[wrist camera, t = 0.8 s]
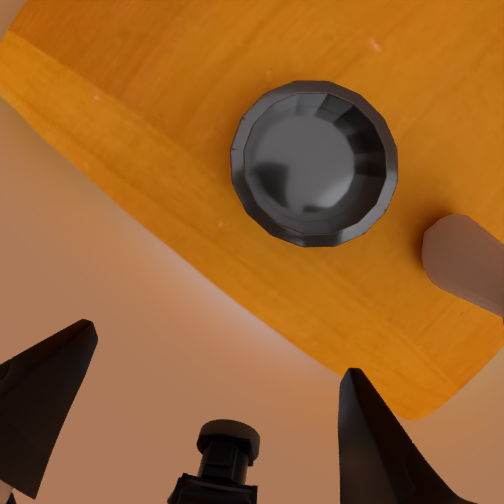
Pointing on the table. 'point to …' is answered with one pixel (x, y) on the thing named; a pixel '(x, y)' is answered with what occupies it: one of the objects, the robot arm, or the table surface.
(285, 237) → the holder
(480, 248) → the salt shaker
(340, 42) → the table surface
